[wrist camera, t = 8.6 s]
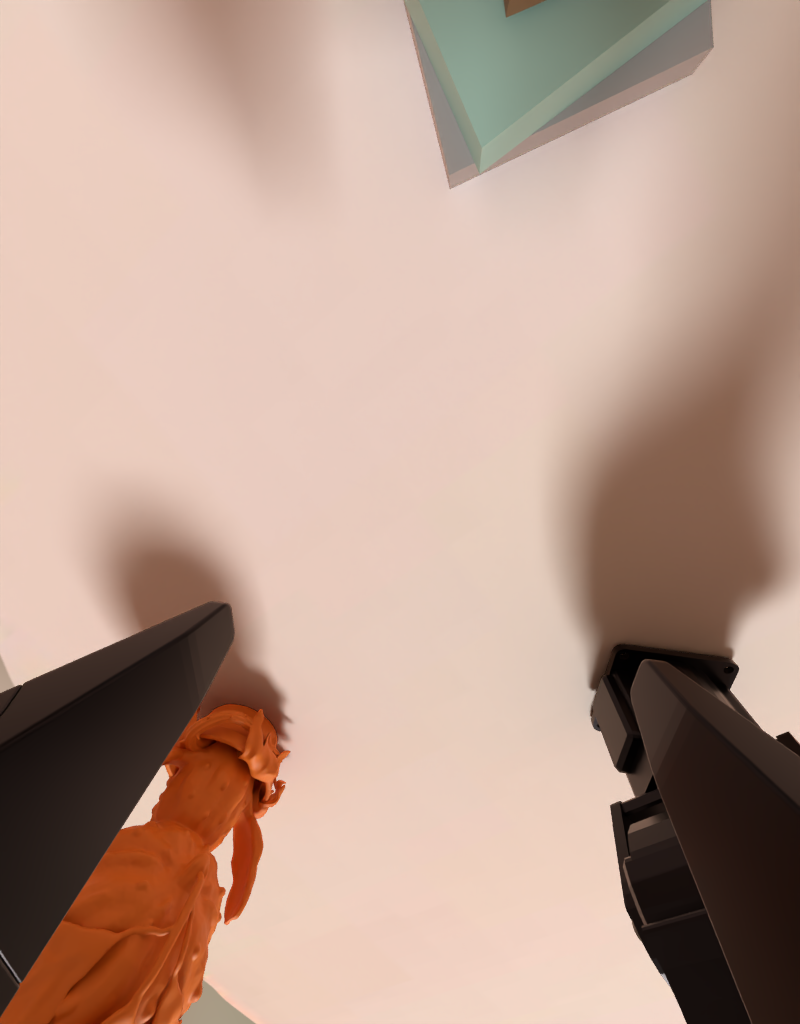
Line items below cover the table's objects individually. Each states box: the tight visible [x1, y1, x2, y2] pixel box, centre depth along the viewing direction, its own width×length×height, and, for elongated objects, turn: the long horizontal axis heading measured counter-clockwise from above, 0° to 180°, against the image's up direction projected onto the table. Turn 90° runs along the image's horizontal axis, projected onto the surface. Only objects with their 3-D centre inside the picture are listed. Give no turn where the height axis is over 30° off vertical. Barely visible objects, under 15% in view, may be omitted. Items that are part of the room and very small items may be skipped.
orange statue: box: [0, 704, 290, 1024], centre depth 22 cm, size 11×11×18 cm
